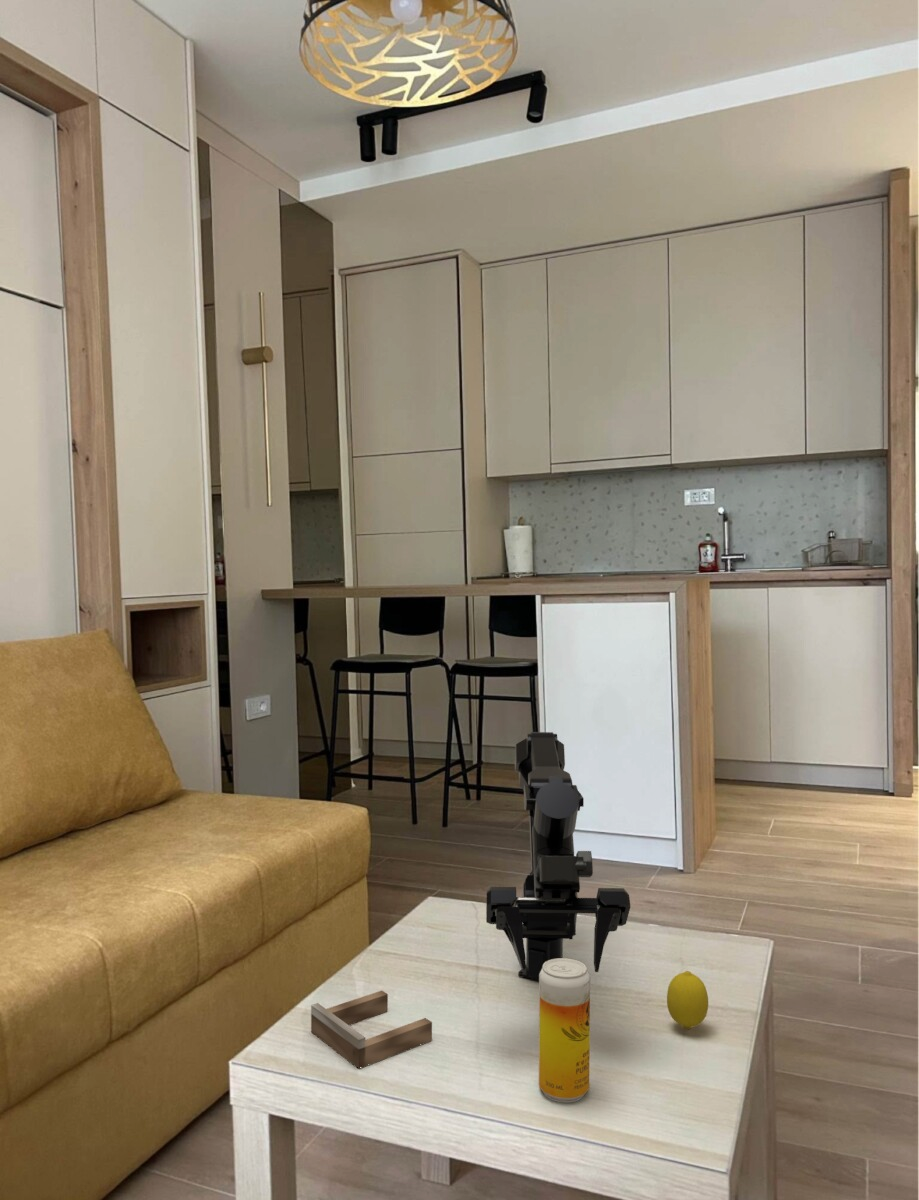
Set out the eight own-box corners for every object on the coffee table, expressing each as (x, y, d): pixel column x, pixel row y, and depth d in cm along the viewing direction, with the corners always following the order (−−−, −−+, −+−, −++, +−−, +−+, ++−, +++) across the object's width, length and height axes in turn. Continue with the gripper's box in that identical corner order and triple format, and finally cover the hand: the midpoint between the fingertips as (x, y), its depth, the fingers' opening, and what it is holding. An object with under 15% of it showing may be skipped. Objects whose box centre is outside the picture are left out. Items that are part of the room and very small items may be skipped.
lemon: (661, 1020, 127) (661, 963, 127) (699, 1019, 127) (700, 962, 127) (674, 1040, 121) (674, 980, 121) (714, 1038, 122) (714, 979, 122)
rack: (381, 1007, 130) (381, 982, 130) (431, 1040, 121) (432, 1013, 121) (311, 1032, 123) (311, 1005, 123) (358, 1069, 114) (358, 1039, 114)
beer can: (587, 1108, 105) (588, 980, 105) (535, 1101, 107) (536, 975, 106) (590, 1080, 111) (591, 959, 111) (541, 1074, 113) (542, 954, 112)
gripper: (486, 826, 120) (487, 941, 109) (628, 828, 119) (643, 944, 108) (486, 867, 128) (486, 979, 117) (619, 869, 127) (631, 981, 116)
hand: (560, 970), depth 114 cm, fingers open, 9 cm apart
